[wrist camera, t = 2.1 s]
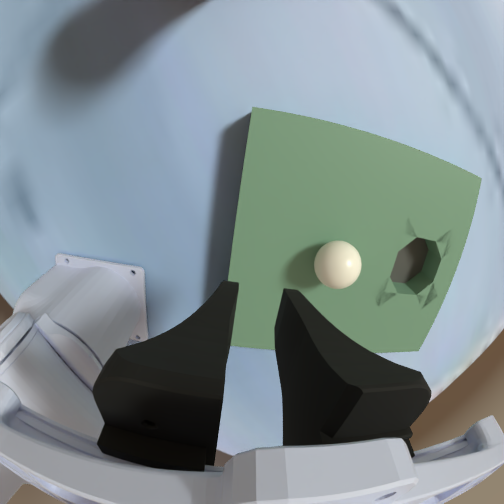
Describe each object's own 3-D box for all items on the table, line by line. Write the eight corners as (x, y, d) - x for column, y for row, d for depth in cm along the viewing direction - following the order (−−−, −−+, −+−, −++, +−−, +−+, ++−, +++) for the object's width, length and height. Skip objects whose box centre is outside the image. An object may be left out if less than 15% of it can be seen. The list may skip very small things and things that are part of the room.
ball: (305, 273, 20) (314, 295, 17) (315, 230, 19) (327, 247, 16) (345, 277, 20) (359, 299, 17) (357, 237, 19) (375, 254, 16)
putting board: (222, 326, 24) (220, 344, 22) (251, 111, 18) (252, 106, 16) (408, 336, 26) (418, 350, 24) (464, 173, 19) (481, 178, 17)
